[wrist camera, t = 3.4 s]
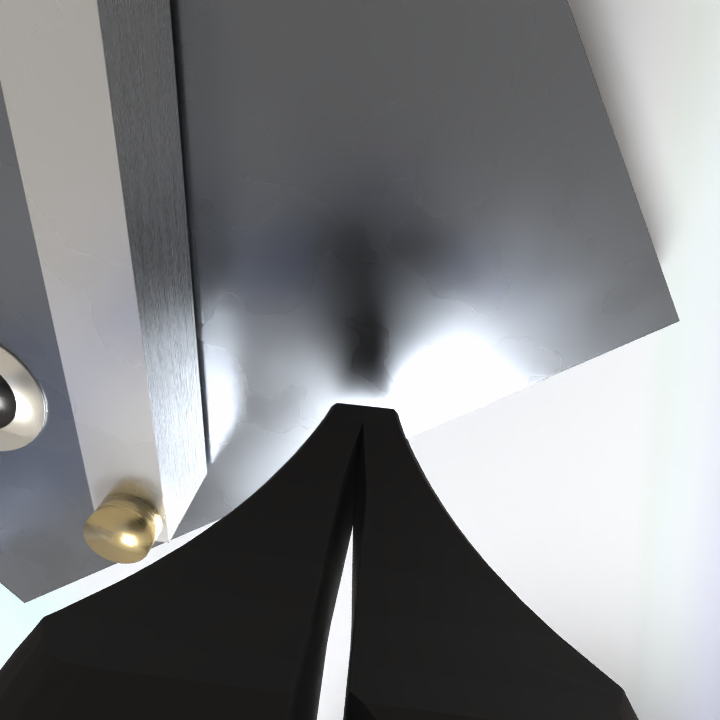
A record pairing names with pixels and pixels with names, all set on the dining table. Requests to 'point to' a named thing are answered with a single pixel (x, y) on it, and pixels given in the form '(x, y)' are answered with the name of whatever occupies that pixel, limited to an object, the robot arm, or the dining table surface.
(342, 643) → the dining table surface
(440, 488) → the dining table surface
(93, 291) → the leg
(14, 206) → the bolt plate
